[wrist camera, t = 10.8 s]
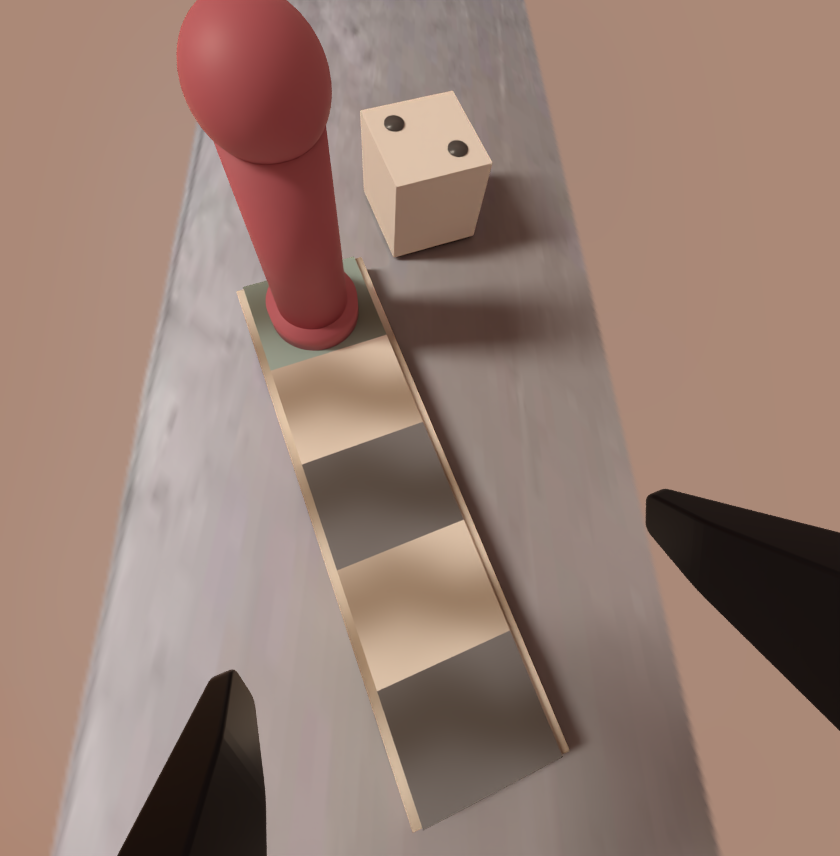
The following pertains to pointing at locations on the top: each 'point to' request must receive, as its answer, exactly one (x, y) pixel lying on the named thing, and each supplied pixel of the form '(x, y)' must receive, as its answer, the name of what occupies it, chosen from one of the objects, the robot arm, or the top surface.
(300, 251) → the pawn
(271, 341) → the board
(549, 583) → the top surface
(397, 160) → the die
